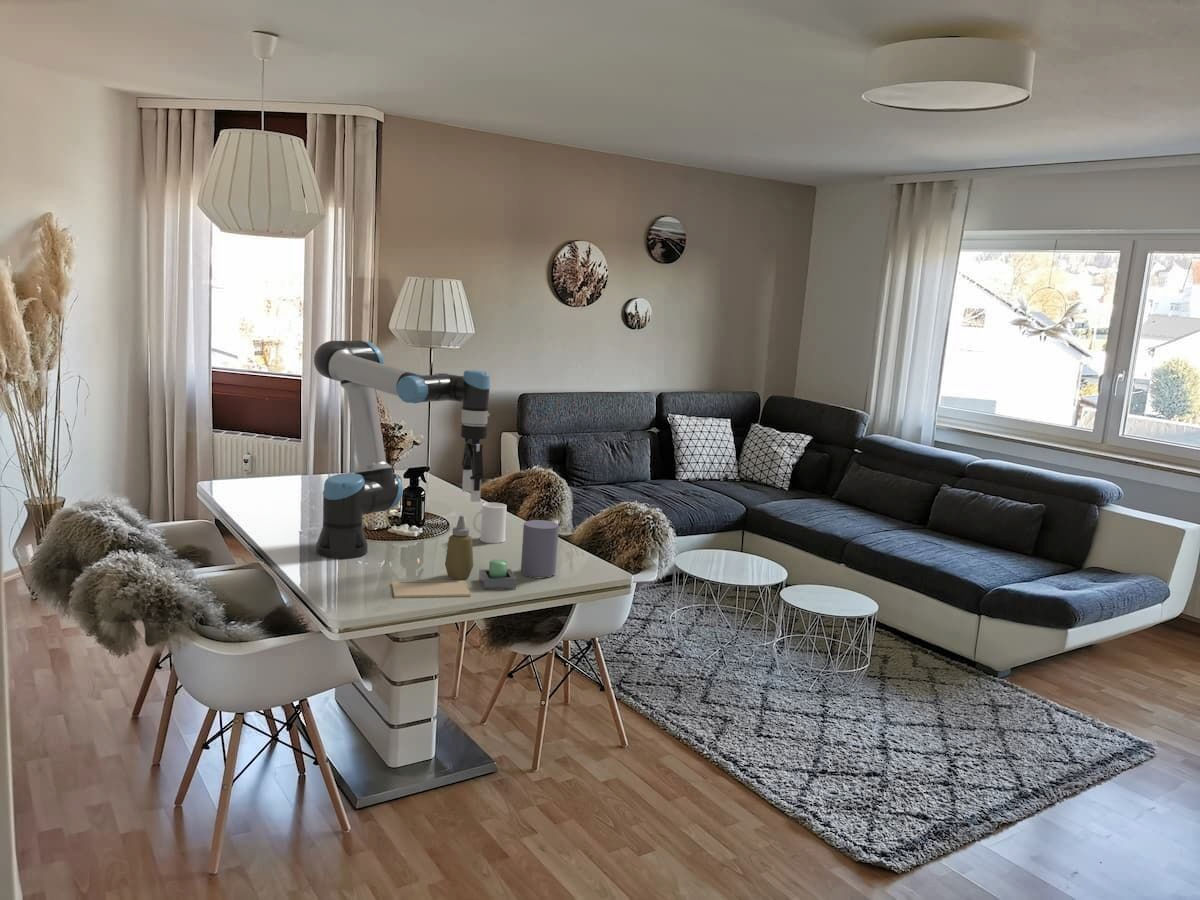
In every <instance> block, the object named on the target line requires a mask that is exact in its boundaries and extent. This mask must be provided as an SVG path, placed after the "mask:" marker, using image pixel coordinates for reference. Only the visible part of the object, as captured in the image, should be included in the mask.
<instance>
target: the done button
mask: <svg viewBox="0 0 1200 900" xmlns="http://www.w3.org/2000/svg"><path fill="white" fill-rule="evenodd" d="M488 568H489V578H495V577H507V569H508V560H507V561H506V560H504V559H490V561H489V567H488Z"/></svg>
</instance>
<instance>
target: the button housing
mask: <svg viewBox="0 0 1200 900" xmlns="http://www.w3.org/2000/svg"><path fill="white" fill-rule="evenodd" d="M478 570H479V573H478V574H479V575H478V581H479V583H480V585H481V587H482V589H483V590H485V591H486V590H489V591H490V590H514V589H513V588H516V589H517V577H516V575H515V574H514V572H513V571H512V569H510V568H509V569H508V568H507V577H495V578H489V569H478Z"/></svg>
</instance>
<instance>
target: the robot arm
mask: <svg viewBox="0 0 1200 900" xmlns="http://www.w3.org/2000/svg"><path fill="white" fill-rule="evenodd" d="M313 363H314V367H315V369H316V371H317V372H318V373H319V375H321V377H325V378H327V379H329V380H334V381H337V382H340V387H342V388H343V389H344V390H345V391H346V393H347V395H346V396H347V401H348V406H349V407H348V408H349V413H350V419H351V420H350V421H351V427H352V433H353V439H354V446H355V447H354V448H355V451H356V459H357V468H356V469H355V470H354V472H352V473H351V472H350V473H349V472H348V473H339V474H335V475H331V476H329V477H328V478H327V479H326V480H325V481H324V483H323V484H324V485H323V491H322V497H323V498H322V500H323V501H322V529H321V531H320V533H319V536H318V539H317V542H316V543H315V544H316V545H315V553H316V555H319V556H321V557H325V558H328V559H329V558H331V559H353V558H358V557H362V556H364V555H367V553H368V547H369V546H368V545H369V544H368V542H367V539H366V535H365V531H364V529H363V528H364V527H363V522H364V521H363V518H364V516H365V515H369V514H374V513H379V512H386V511H387V510H390V509H394V508H395V507H396V506H398V504H399V503H400V501H401V500H402V497H403V493H404V485H403V482H402V479H401V478H400V477H399V475H398V474H396V473H395V472H394V471H393V467H392V465H391V464H389V463H388V462H387V459H386V453H385V445H384V440H383V432H382V427H381V420H380V414H379V407H378V401H377V394H376V390H378V391H380V392H383V393H387V394H390V395H394V396H397V397H398V398H399V399H400V400H401V401H402V402H404V403H407V404H419V403H429V402H444V401H452V402H459V403H460V402H461V420H460V422H461V423H462V424H461V426H460V437H461V438H463V439H464V448H463V454H462V461H461V467H462V469H463V470H462V481H461V482H462V484H461V485H462V486H461V487H462V488H461V491H462V493H463V492H464V493H465V492H466V493H467V492H470V499H469V500H470V503H472V502H474V503H477V502H479V503H480V502H481V496H482V495H481V494H482V493H481V492H482V480H483V479H484V466H483V463H484V462H483V447H484V446H483V444H481V443H480V440H486V439H487V438H488V425H487V424H488V418H489V417H490V415H491V413H489V399H490V389H491V385H490V384H491V383H490V382H491V381H490V374H489V372H487V371H486V370H477V369H476V370H475V369H474V370H471V369H470V370H469V369H467V370H464V372H463V375H455V374H449V373H446V372H445V373H443V372H441V373H440V372H439V373H434V374H429V375H425V374H424V375H422V374H419V373H418V374H417V373H413V372H410V371H407V370H404V369H400V368H398V367H397V368H396V367H395V366H390V365H388V364H384V356H383V354H382V352H381V350H380V349H379V347H377V346H376V345H375V344H374V343H372V342H371V341H367V340H366V341H365V340H329V341H326V342H324V343H322V344H321V345H320V346H318V347H317V349H316V351H315V353H314V356H313Z"/></svg>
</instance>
